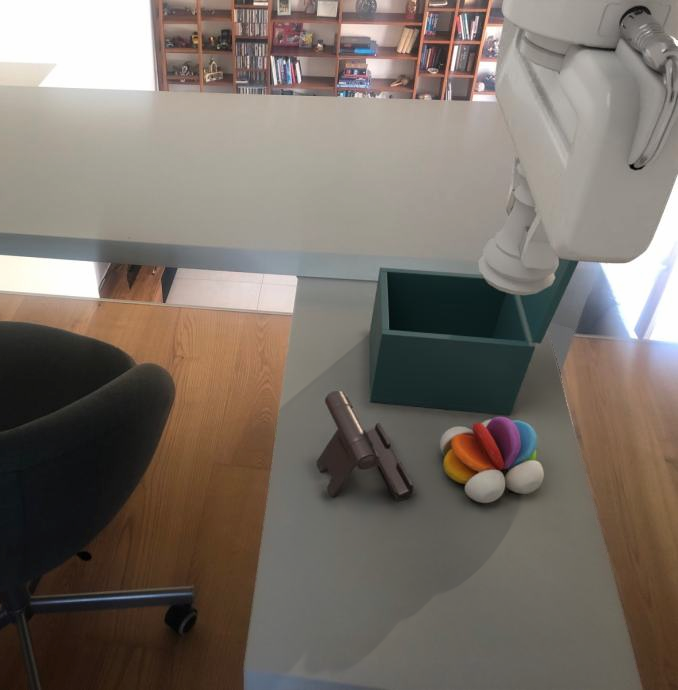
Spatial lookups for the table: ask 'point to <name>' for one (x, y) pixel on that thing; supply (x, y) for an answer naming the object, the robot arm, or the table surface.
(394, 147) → the table surface
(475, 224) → the table surface
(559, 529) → the table surface
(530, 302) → the lid
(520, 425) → the multicoloured rounded lobed piece
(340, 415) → the tablet stand
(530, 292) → the rook chess piece
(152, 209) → the table surface
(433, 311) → the teal hinged box
